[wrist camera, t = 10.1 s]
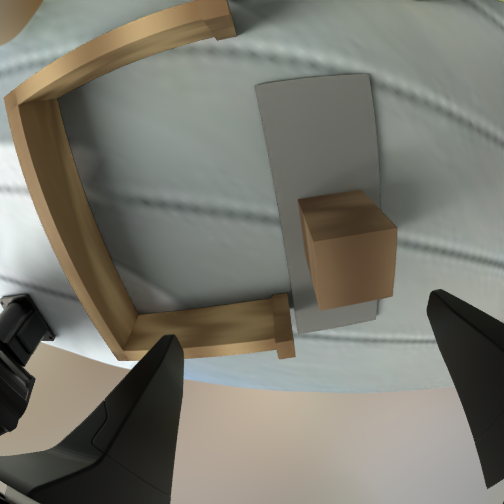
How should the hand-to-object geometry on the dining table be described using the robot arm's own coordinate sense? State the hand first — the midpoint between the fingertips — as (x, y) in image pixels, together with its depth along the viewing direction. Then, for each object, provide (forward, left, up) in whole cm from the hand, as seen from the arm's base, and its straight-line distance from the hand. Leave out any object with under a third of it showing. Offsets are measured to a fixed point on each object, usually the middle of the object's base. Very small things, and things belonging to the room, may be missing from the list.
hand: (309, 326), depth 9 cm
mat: (+3, -2, -12) cm, 12 cm away
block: (+3, -2, -11) cm, 12 cm away
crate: (-8, +2, -12) cm, 14 cm away
